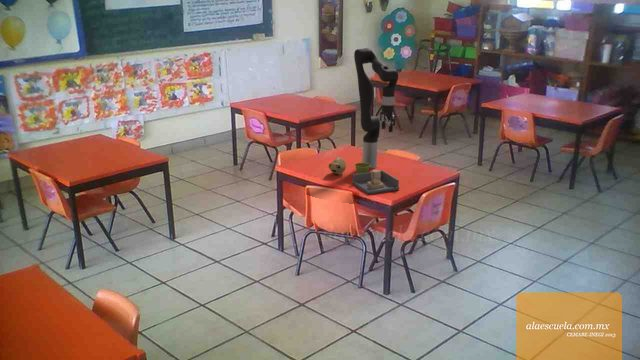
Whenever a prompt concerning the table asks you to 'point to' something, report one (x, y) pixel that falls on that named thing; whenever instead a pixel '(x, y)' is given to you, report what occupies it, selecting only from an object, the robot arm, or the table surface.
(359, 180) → the walled box
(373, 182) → the connector
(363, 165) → the plant pot
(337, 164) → the toy pig
